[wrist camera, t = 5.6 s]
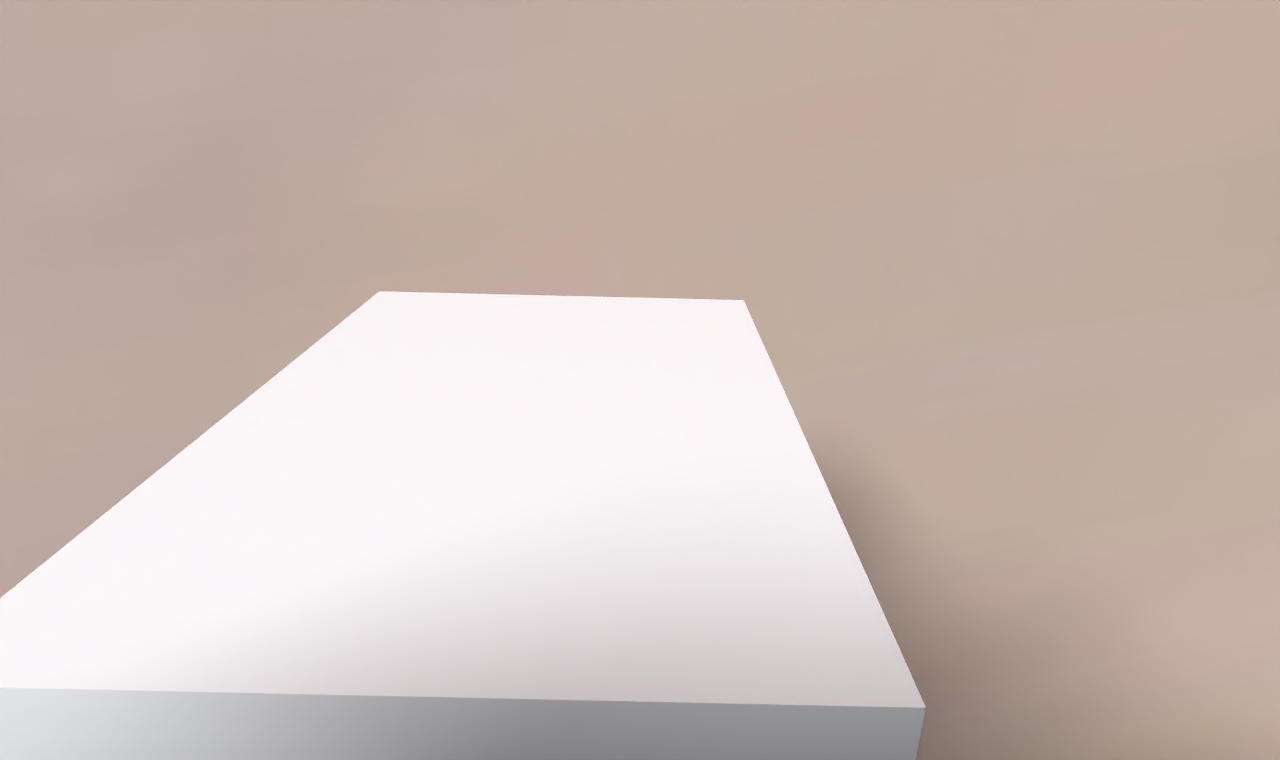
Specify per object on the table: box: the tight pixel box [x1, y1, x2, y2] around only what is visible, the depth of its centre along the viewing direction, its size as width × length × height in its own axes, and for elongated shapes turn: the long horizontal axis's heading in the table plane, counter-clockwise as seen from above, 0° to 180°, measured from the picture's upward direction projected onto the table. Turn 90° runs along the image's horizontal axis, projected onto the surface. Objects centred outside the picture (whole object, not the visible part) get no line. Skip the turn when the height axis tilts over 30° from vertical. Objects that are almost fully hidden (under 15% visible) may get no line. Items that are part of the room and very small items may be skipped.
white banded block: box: [0, 292, 926, 760], centre depth 7 cm, size 7×4×6 cm, turn 179°
